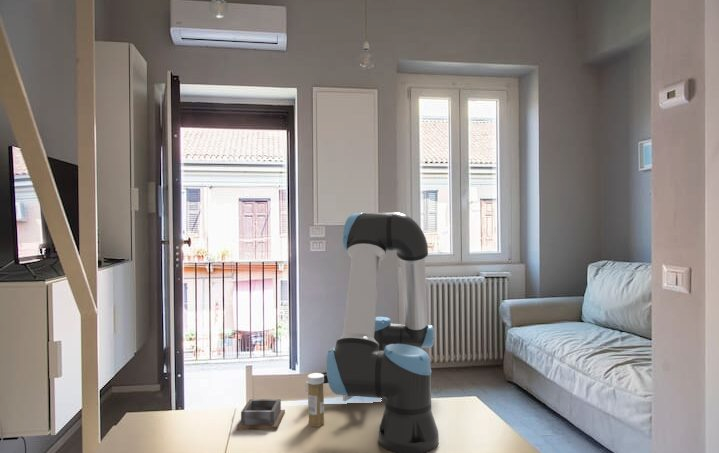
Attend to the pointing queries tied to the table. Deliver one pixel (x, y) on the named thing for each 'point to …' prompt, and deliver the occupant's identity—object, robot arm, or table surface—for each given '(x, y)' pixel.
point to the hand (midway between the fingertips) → (324, 391)
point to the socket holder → (261, 415)
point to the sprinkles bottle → (315, 399)
